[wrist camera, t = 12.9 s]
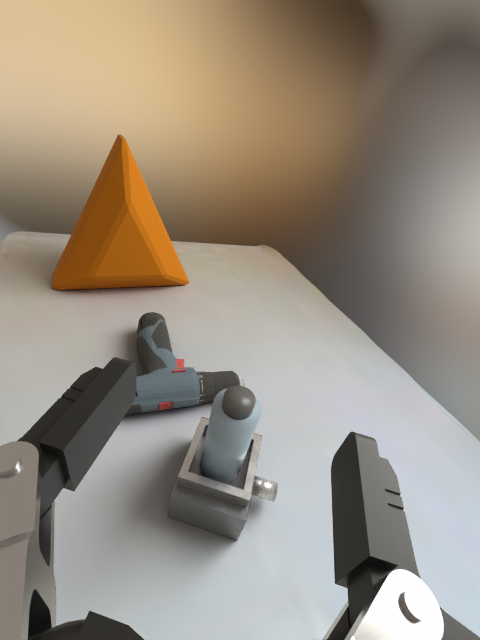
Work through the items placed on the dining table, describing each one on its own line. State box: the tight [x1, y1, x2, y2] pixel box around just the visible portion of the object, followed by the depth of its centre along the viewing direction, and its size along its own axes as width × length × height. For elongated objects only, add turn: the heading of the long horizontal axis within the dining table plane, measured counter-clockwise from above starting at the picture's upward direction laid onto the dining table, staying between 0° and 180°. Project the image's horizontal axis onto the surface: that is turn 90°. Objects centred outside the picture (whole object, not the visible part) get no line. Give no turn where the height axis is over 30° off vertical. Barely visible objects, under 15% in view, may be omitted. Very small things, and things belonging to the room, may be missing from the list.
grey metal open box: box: [167, 417, 278, 541], centre depth 35 cm, size 11×10×6 cm
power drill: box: [125, 312, 244, 415], centre depth 51 cm, size 5×19×20 cm
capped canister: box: [201, 386, 261, 483], centre depth 31 cm, size 5×5×11 cm
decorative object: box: [52, 135, 189, 290], centre depth 63 cm, size 30×15×30 cm, turn 115°
